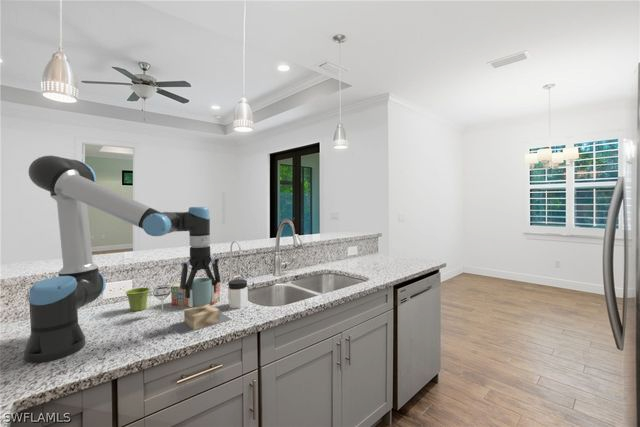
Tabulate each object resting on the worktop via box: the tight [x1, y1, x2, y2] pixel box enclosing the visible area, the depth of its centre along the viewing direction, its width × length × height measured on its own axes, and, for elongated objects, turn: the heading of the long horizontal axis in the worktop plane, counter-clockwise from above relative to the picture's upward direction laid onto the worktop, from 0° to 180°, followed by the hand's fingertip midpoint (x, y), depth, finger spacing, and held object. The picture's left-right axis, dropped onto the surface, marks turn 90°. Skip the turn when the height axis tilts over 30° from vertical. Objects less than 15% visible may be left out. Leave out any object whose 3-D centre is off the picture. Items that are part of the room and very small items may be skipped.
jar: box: [227, 278, 249, 309], centre depth 138 cm, size 9×8×12 cm
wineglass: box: [152, 284, 171, 317], centre depth 130 cm, size 7×7×12 cm
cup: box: [190, 278, 212, 307], centre depth 118 cm, size 8×8×10 cm
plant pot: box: [125, 287, 151, 312], centre depth 137 cm, size 9×9×9 cm
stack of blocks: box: [170, 276, 221, 307], centre depth 143 cm, size 21×6×12 cm, turn 85°
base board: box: [170, 311, 233, 335], centre depth 119 cm, size 20×12×1 cm, turn 133°
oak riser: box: [183, 304, 220, 330], centre depth 119 cm, size 10×10×5 cm
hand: (201, 303), depth 118 cm, fingers closed on cup, 8 cm apart
